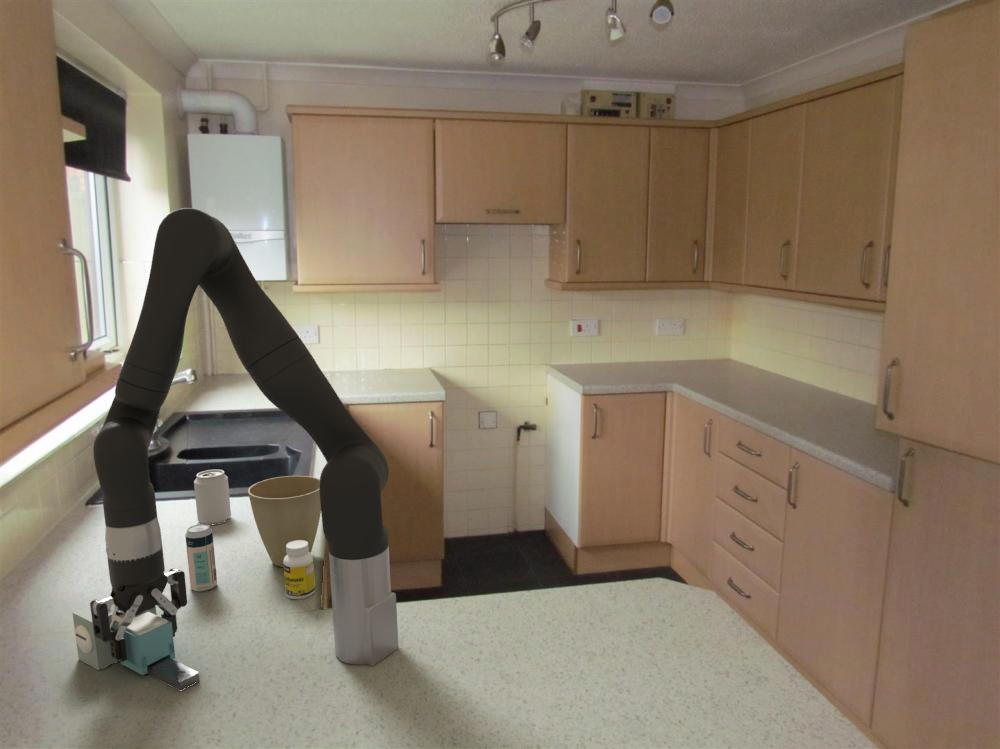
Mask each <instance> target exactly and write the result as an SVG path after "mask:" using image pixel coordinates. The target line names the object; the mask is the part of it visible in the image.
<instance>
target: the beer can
mask: <svg viewBox="0 0 1000 749" xmlns="http://www.w3.org/2000/svg"><path fill="white" fill-rule="evenodd" d="M184 536H185V546H186V556H187V566H188V574H189V576H188V577H189V585H190V587H189V588H190V590H192V591H195V592H198V593H200V592H201V593H202V592H206V591H210V590H213V588H214V587H215V586H216V585H217V584H218V579H217V578H218V577H217V566H216V558H215V557H216V555H215V554H216V553H215V546H214V544H215V543H214V535H213V529H212V528H211V526H210V525H206V524H202V523H201V524H195V525H192V526H189V527H188V528H187V530H186V532H185V535H184Z"/></svg>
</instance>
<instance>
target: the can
mask: <svg viewBox="0 0 1000 749" xmlns="http://www.w3.org/2000/svg"><path fill="white" fill-rule="evenodd" d="M195 476H196V478H195V480H193V486H194V487H193V488H194V495H195V496H194V497H195V506H196V515H197V516H196V517H197V522H199V523H201V524H202V523H203V524H206V525H209V526H213V525H212V524H217V525H220V524H219V523H221V524H223V523H222V522H224V521H226V520H227V519H228V520H229V519H230V517H231V516H232V510H231V499H230V497H231V496H230V490H229V489H230V487H229V477H228V476H227V475H226V474H225V471H224V470H223V469H207V470H204V471H200V472H198V473H197V474H196V475H195ZM228 520H227V521H228ZM227 521H226V522H227ZM224 523H225V522H224Z"/></svg>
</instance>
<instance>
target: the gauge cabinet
mask: <svg viewBox="0 0 1000 749" xmlns="http://www.w3.org/2000/svg"><path fill="white" fill-rule="evenodd" d="M115 608H116V605H114V604H113V605H112V606H111V612H110V613H108V616H109V624H111V622H112V615H113V612H114V610H115ZM146 612H150V613H152V614H155V615H157V605H155V608H152V609H150V610H145V611H144V612H142V613H141V614H139V615H137V616H140V615H142V614H144V613H146ZM125 614H126V613H125V612H123V617H124V616H125ZM137 616H134V618H135V617H137ZM157 616H158V615H157ZM72 618H73V625H74V636H75V640H76V641H75V642H76V649H77V658H78V660H79V661H81V662H83V663H84V664H87V665H88V666H90V667H91V666H92V667H91V668H93V669H94V670H96V671H98V670H99V671H101V670H103V669H105V667H106V668H108V667H110V666H111V664H112V665H114V664H116V663H117V662H116V661H118V660H116V659H115V658H113V657H112V656H111V650H110V642H109V641H108V642H104V641H102V640H100V639H98V638H96V637H95V636H94V630H93V623H92V615H91V608H90V605H88V606H85V607H83V608H80V609H78V610H76V611H73V612H72ZM115 662H116V663H115ZM118 662H119V661H118ZM113 663H114V664H113ZM109 665H110V666H109ZM107 666H108V667H107ZM100 669H101V670H100Z"/></svg>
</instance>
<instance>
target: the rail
mask: <svg viewBox="0 0 1000 749" xmlns="http://www.w3.org/2000/svg"><path fill="white" fill-rule="evenodd" d="M147 672H148V674H147V675H149V676H150V675H151V677H152V676H153V677H152V678H154V677H155V679H156V678H157V680H158V679H159V680H158V681H160V680H161V681H160V682H162V681H163V682H162V683H164V682H165V683H164V684H166V683H167V684H169V685H171V686H173V687H175V688H177V689H179V690H183V689H184V688H187V687H188V686H190V685H192V684H194V683H195V682H198V681H200V674H199V671H197V670H195V669H193V668H191V667H188V666H187V665H185V664H183V663H180V662H178V661H176V660H175V659H171V658H169V657H167V656H165V657H163V658H161V659H160V660H158V661H156V662H154V663H152V664H150V665H148V666H147ZM198 683H199V682H198ZM167 684H166V685H167ZM169 685H168V686H169ZM194 685H195V684H194ZM171 686H170V687H171ZM173 687H172V688H173ZM175 688H174V689H175ZM177 689H176V690H177ZM187 689H188V688H187ZM179 690H178V691H179Z"/></svg>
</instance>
